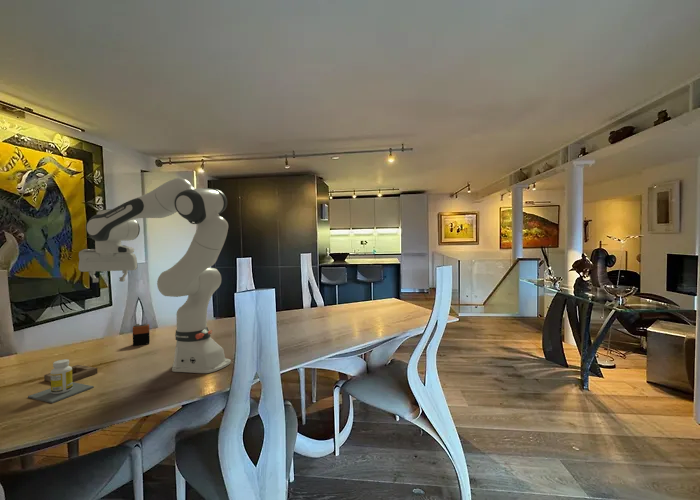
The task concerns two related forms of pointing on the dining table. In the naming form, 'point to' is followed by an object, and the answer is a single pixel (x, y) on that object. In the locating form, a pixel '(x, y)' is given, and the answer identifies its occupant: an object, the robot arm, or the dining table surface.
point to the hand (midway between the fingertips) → (109, 281)
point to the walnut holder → (77, 372)
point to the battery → (141, 334)
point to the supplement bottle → (61, 377)
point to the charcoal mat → (52, 398)
